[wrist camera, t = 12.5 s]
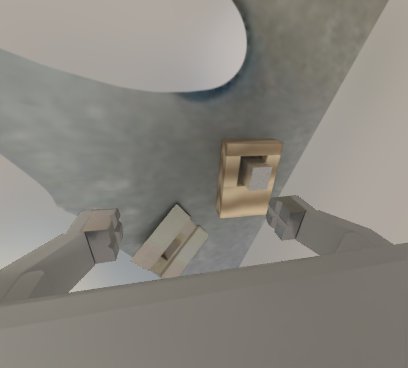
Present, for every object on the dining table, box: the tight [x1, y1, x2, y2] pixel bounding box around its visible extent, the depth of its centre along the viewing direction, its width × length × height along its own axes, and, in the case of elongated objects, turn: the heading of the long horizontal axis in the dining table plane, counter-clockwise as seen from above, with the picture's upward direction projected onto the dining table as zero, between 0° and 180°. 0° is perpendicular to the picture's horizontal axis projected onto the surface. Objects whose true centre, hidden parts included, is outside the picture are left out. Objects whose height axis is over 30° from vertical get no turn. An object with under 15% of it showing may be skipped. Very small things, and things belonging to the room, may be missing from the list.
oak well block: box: [216, 139, 283, 218], centre depth 42 cm, size 18×12×4 cm, turn 178°
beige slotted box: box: [131, 204, 208, 279], centre depth 45 cm, size 16×9×15 cm
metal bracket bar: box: [238, 156, 272, 191], centre depth 39 cm, size 5×4×8 cm
